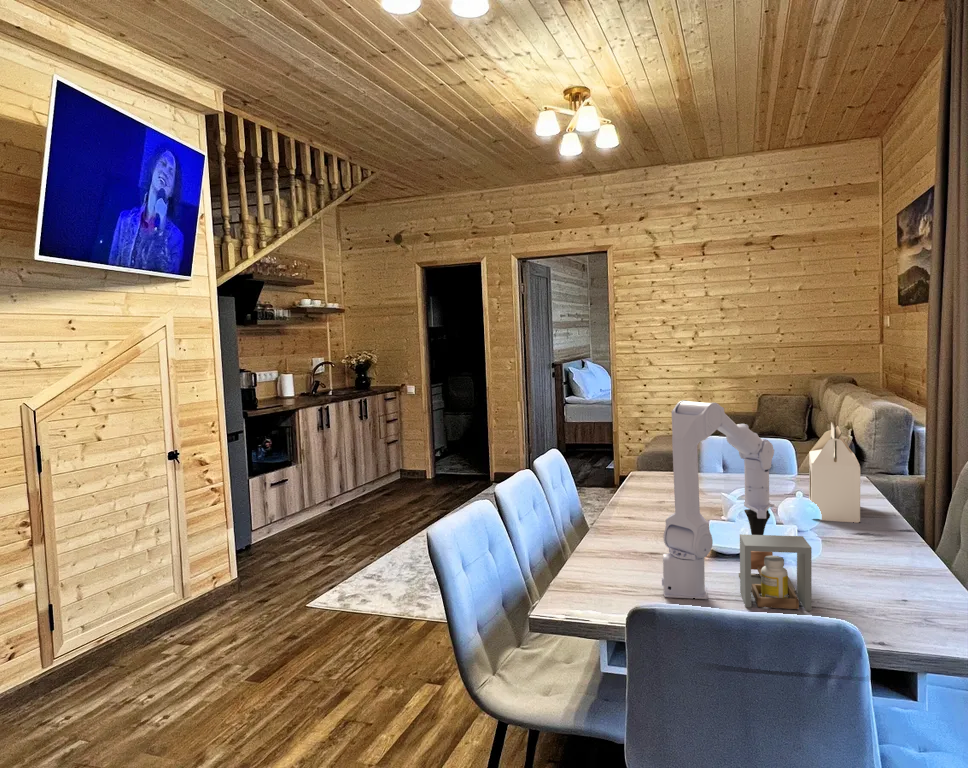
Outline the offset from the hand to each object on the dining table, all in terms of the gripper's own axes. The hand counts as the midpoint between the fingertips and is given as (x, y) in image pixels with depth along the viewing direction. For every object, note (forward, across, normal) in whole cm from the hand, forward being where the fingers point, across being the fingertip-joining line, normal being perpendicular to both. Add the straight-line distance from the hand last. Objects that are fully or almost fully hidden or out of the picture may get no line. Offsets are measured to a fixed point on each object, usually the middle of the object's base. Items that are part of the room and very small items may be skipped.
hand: (757, 538), depth 172 cm
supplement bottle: (+7, -23, 0) cm, 24 cm away
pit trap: (+7, -13, 0) cm, 15 cm away
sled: (+7, -16, 0) cm, 17 cm away
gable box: (+8, +54, -31) cm, 62 cm away
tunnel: (+7, -23, 0) cm, 24 cm away
